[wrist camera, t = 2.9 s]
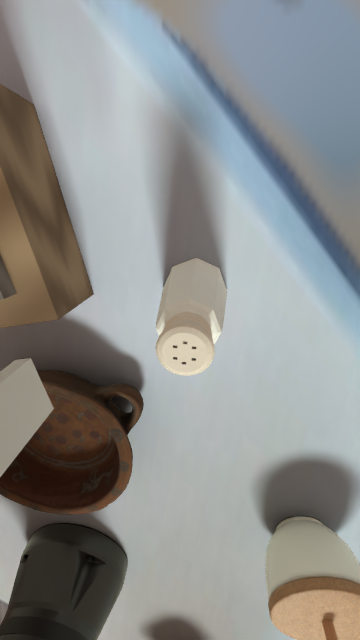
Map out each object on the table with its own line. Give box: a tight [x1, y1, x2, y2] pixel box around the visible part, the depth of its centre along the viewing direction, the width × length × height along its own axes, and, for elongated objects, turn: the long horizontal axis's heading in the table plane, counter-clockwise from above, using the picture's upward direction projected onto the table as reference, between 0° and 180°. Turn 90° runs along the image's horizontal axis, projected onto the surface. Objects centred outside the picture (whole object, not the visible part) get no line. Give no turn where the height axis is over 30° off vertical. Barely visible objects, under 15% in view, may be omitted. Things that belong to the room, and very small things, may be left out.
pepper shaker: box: [156, 258, 227, 376], centre depth 17 cm, size 5×5×11 cm
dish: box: [0, 371, 143, 515], centre depth 28 cm, size 18×22×5 cm
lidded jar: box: [265, 516, 360, 640], centre depth 29 cm, size 11×11×9 cm
